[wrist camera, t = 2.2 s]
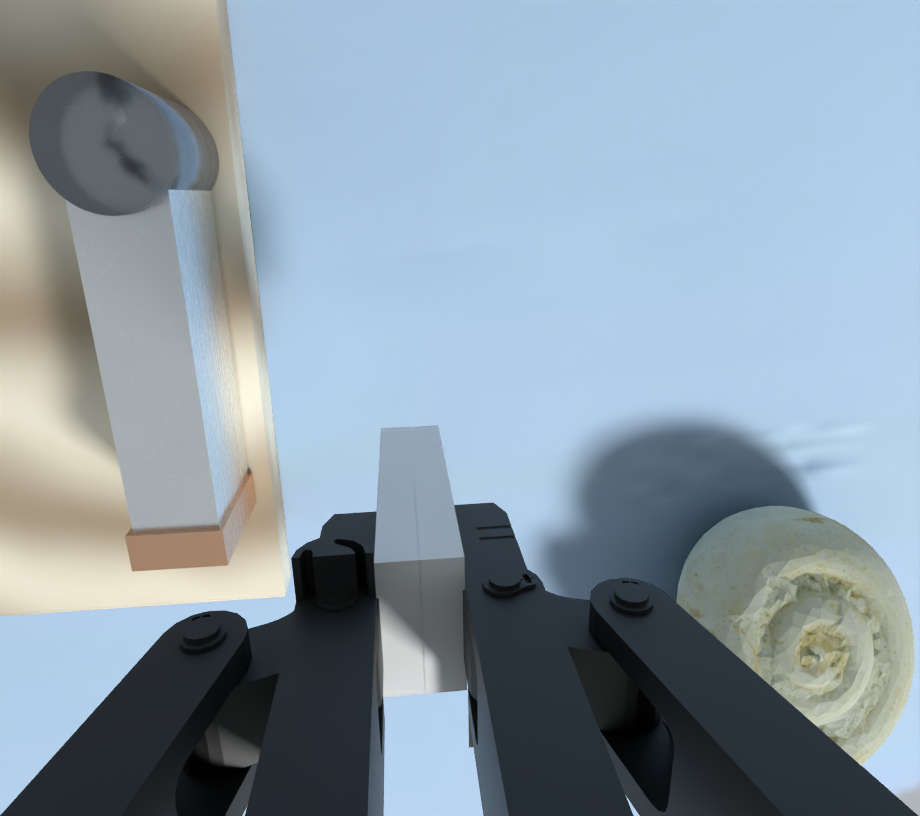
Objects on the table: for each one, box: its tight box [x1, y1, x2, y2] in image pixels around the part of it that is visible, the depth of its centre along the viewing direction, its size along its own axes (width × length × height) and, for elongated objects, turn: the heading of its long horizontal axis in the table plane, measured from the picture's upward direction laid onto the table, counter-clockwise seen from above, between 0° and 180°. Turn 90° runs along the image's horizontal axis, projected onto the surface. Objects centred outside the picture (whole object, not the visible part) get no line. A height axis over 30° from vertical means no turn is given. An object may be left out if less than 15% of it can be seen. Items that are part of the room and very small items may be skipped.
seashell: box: [676, 506, 914, 765], centre depth 26 cm, size 13×8×10 cm
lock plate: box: [0, 0, 291, 616], centre depth 21 cm, size 24×14×2 cm, turn 1°
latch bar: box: [29, 71, 256, 572], centre depth 19 cm, size 13×3×4 cm, turn 1°
